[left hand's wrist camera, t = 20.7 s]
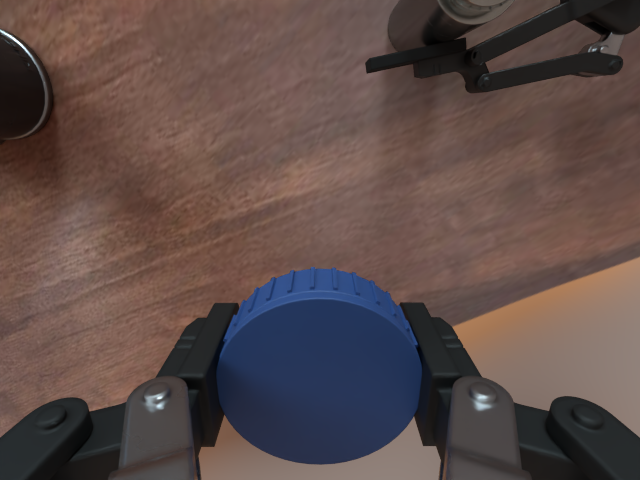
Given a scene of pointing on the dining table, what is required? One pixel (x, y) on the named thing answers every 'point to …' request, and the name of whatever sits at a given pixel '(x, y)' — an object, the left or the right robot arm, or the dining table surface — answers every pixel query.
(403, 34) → the brown cylinder
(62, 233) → the dining table surface
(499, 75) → the right robot arm
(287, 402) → the lid
